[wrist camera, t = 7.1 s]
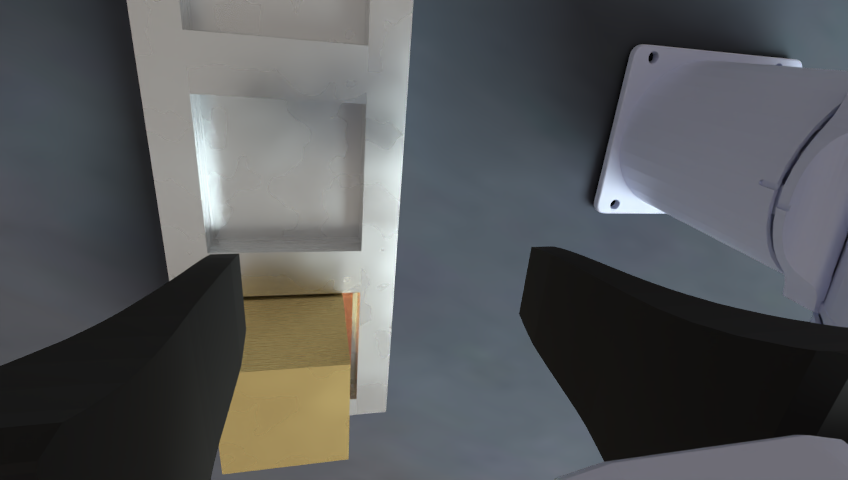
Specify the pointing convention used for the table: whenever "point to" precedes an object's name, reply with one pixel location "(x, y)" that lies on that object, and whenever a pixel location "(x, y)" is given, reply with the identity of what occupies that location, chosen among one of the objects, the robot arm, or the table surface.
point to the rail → (283, 150)
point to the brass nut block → (290, 385)
